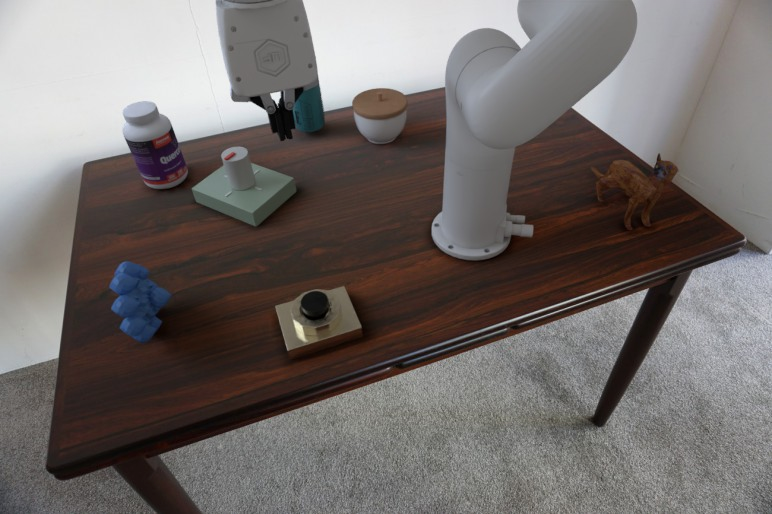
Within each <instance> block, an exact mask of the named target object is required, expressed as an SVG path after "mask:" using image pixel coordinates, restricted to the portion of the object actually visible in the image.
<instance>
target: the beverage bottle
mask: <svg viewBox="0 0 772 514" xmlns="http://www.w3.org/2000/svg"><path fill="white" fill-rule="evenodd" d="M315 57H316V58H317V56H316V55H315ZM318 79H319V80H320V78H319V77H318ZM321 87H322V86H321V85H320V83H319V84H318V85H317V86H315V87H313V88H311V89H308V90H305V91H303V93H302V94H301V95H300V97H299V98H298V100H297V101H296V102H295V107H294V108H293V109H292V110H293V116H294V121H295V127H296V129H297V130H298V131H299V132H304V133H313V132H316V131H319V130H321V129H322V128H323V127H324V126H325V123H326V116H325V107H324V101H323V97H322V90H321Z"/></svg>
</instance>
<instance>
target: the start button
mask: <svg viewBox="0 0 772 514" xmlns="http://www.w3.org/2000/svg"><path fill="white" fill-rule="evenodd" d="M301 308H302V312H303V315H304V316H305V317H306V318H308V319H310V320H319V319H322V318H323V317H325V316H326V315H327V314H328V312H329V309H330V308H329V301H328V297H327V296H326V294H324V293H323V292H320V291H312V292H309V293H307V294H305V295H304V296H303V297H302V299H301Z"/></svg>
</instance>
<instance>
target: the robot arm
mask: <svg viewBox="0 0 772 514" xmlns="http://www.w3.org/2000/svg"><path fill="white" fill-rule="evenodd" d="M635 5H636V4H635V3H634V1H633V0H518V2H517V7H516V12H517V19H518V22H519V25H520V28H522V30H523V32H524V33H525V35H526V36H527V38H528V39H529V41H528V42H527V43H525V45H523V47H522V48H521V46H520V45H519V43H518V42H516V40H514V38H512V36H510V35H508V34H507V33H505V32H504V31H502V30H500V29H496V28H492V27H482V28H481V27H480V28H477V29H474V30H471V31H470V32H468V33H466V34H464V35H463V36H462V37H460V39H459V40H458V41H457V42H456V43H455V44H454V46H453V48H451V49H452V50H451V51H450V54H449V55H448V58H447V62H446V65H445V75H444V89H445V91H444V92H445V110H446V111H445V114H446V116H445V117H446V125H445V126H446V129H445V130H446V131H445V132H446V133H445V149H444V150H445V151H444V153H445V154H444V171H443V187H442V189H443V190H442V207H441V208H442V209H441V211H440V212H439V213H437V215H436V216H435V218H434V219H433V221H432V223H431V237H432V240H433V242H434V244H435V245H436V246H437V248H439V249H440V250H441V251H442V252H443V253H445V254H446V255H449V256H451V257H453V258H456V259H460V260H465V261H485V260H488V259H492V258H494V257H496V256H498V255H500V254H501V253H503V252H504V251H505V250H507V248H508V246H509V245H510V242H511V239H512V236H518V237H520V238H521V237H522V238H530V239H531V238H533V235H534V224H527V223H526V224H525V222H526V215H521V214H515V215H514V214H511V213H510V212H508V211H507V209H508V208H507V207H508V204H507V201H508V193H509V188H510V181H511V175H512V168H513V162H514V157H515V151H516V147H519V146H522V145H524V144H525V143H527V142H529V141H531V140H532V139H533V140H534V138H535V137H537V136H538V135H540V134H541V133H543V132H544V131H545V130H546V129H547V128H548V127H550V126H551V125H552V124H554V123H555V122H556V121H557V120H558V119H559V118H561V117H562V116H563V115H564V114H566V113H567V112H568V111H569V110H570V109H571V108H573V107H574V106H575V105H576V104H577V103H578V102H580V101H581V100H583V99H584V97H586V96H587V95H588V94H589V93H591V92H592V91H593V90H594V89H595V88H596V87H598V86H599V85H600V84H601V83H602V82H603V81H604V80H605V79H607V78H608V77H609V76H610V75H611V74H612V73H613V72H614V71H615V70H616V69H617V68H618V67H619V65H620V64H621V63H622V61H624V59H625V57H626V56H627V54H628V53H629V51H630V49H631V47H632V45H633V42H634V40H635V37H636V33H637V29H638V13H637V8H636V6H635ZM215 16H216V25H217V31H218V38H219V44H220V50H221V54H222V58H223V63H224V67H225V71H226V74H227V78H228V82H229V96H230V98H231V100H232V102H234V103H253V104H254V105H256V106H257V107H259V108H260V109H262V110H264V111H265V112H266V113H267V118H268V123H269V127H270V131H271V134H277V137H278V138H279V141H280V142H284V141H286V140H293V139H294V137H293V136H294V135H293V132H292V131H293V130H296V129H297V128H296V126H295V121H294V116H293V110H292V109H293V108H294V107H295V102H296V101H297V100H298V98H299V97H300V95H301V94H302V93H303V91H305V90H308V89H311V88H313V87H315V86H317V85H318V84H319V85H320V78H319V71H318V63H317V56H316V52H315V47H314V46H315V45H314V41H313V35H312V32H311V26H310V23H309V19H308V15H307V11H306V7H305V4H304V1H303V0H215ZM315 56H316V57H315ZM318 78H319V79H318ZM275 93H279V94H280V95H279V96H280V98H279V99H278V103H276V100H275V99H273V98H272V95H271V94H275Z"/></svg>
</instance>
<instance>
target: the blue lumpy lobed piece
mask: <svg viewBox="0 0 772 514" xmlns="http://www.w3.org/2000/svg"><path fill="white" fill-rule="evenodd" d="M150 272H151V270H149V269H147V267H145V266H144V265H143V264H142V265H141V264H139V263H134V262H131V261H128V260H125V261H122V262H121V263H119V264H118V266H117V268H116V270H115V271H114V277H113V278H112V279H111V282H110V283H109V285H108V288H109V289H110V290H111V291H113V292H114V293H115V294H117V295H118V297H117V298H116V299H115V300H114V301H113V303H112V305H111V308H110V310H111V311H112V312H114V313H115V315H117V316H119V317H121V318H124V319H123V320H122V322H121V324H120V325H119V329H120V331H122V332H123V333H124V334H126V335H127V336H129V337H131V338H132V339H134V340H135V341H137V342H138V343H141V344H144V343H148V342H149V341H150V340H151V339H153V337H154V335H155V333H156V332H157V331H158V330H159V329H160V327H161V325H162V323H163V321H162V320H161V319H160V318H158V317H157V316H156V315H157V314H158V313H160V310H161V309H162V308H163V307H164V306H165V305H167V304H168V302H169V301H170V299H171V297H172V293H171V292H169V290H167V289H165V288H164V287H161V286H159V285H158V284H157V283H156V282H154V281H153V280H151V278H150V279H149V278H148V276H149V274H150Z"/></svg>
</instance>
